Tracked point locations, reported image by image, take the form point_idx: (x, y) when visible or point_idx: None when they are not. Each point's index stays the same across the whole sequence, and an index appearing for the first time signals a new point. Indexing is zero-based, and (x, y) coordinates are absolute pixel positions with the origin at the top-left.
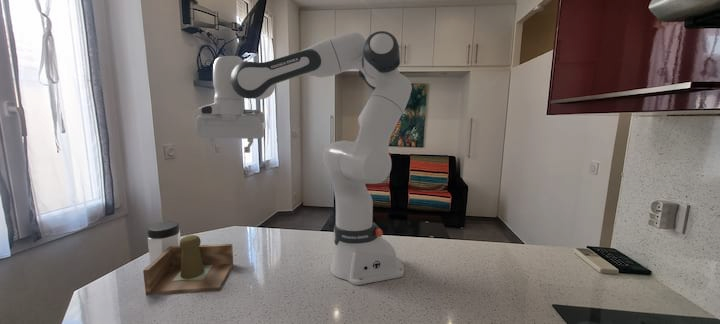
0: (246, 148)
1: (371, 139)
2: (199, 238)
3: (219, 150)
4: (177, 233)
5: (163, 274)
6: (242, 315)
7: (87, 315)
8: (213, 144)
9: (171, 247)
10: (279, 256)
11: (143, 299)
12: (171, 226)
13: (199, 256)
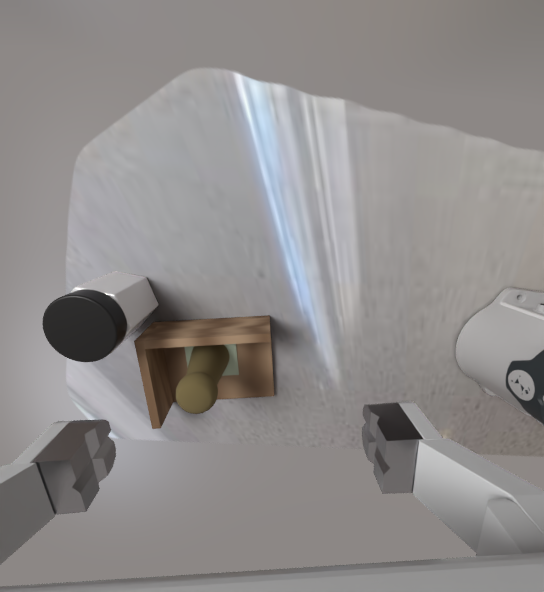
0: (401, 481)
1: None
2: (213, 391)
3: (99, 438)
4: (126, 321)
5: (164, 367)
6: (323, 444)
7: (123, 435)
8: (8, 554)
9: (142, 346)
10: (357, 287)
11: (172, 408)
12: (105, 337)
13: (220, 375)
